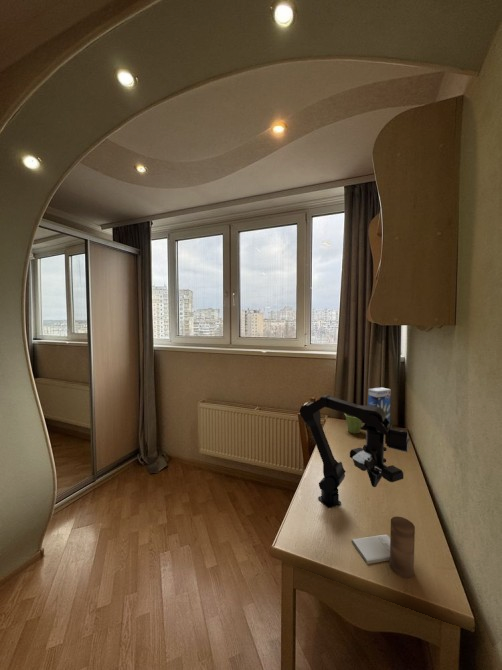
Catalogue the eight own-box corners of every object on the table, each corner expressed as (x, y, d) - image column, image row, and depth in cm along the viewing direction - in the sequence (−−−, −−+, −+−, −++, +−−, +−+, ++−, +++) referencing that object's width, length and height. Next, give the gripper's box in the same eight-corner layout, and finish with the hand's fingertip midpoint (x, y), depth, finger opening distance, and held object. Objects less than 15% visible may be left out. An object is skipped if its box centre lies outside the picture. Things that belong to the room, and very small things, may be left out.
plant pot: (361, 428, 180) (362, 412, 179) (365, 436, 168) (365, 418, 168) (343, 427, 183) (343, 410, 182) (345, 434, 171) (345, 416, 171)
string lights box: (376, 430, 178) (377, 391, 177) (367, 426, 185) (367, 388, 184) (390, 426, 184) (391, 389, 182) (380, 423, 190) (381, 386, 189)
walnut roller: (385, 559, 81) (386, 517, 80) (404, 558, 81) (405, 516, 81) (397, 578, 75) (399, 532, 74) (418, 576, 75) (419, 531, 75)
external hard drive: (351, 543, 87) (386, 537, 90) (367, 566, 79) (404, 559, 81) (351, 538, 87) (386, 533, 89) (367, 560, 79) (404, 553, 81)
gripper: (338, 437, 101) (338, 478, 102) (380, 460, 84) (379, 509, 85) (361, 432, 106) (360, 471, 106) (405, 453, 89) (403, 500, 89)
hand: (374, 486), depth 97 cm, fingers closed
